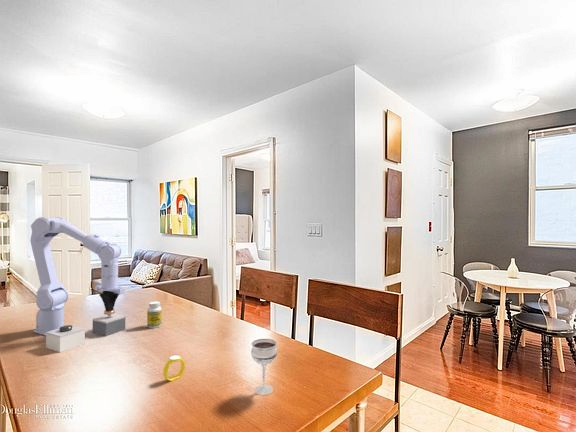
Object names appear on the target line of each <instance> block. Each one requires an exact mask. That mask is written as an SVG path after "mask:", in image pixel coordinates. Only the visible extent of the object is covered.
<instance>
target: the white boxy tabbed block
mask: <svg viewBox="0 0 576 432" xmlns="http://www.w3.org/2000/svg"><path fill="white" fill-rule="evenodd" d="M124 330H126V315H122V314H117V313H113V314H111V318H108V315H105V314H103V315H102V316H98V317H94V318H92V334H96V335H101V336H103V337H108V336H110V335H113V334H116V333H119V332H121V331H124Z"/></svg>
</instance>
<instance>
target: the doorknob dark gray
mask: <svg viewBox="0 0 576 432" xmlns="http://www.w3.org/2000/svg"><path fill="white" fill-rule="evenodd" d="M72 325H73V324H67V325H64V326H62V327H60V328H59V331H60V332H65V331H70V330H72Z"/></svg>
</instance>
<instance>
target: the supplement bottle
mask: <svg viewBox="0 0 576 432" xmlns="http://www.w3.org/2000/svg"><path fill="white" fill-rule="evenodd" d="M160 305H161V303H160V301H150V302H149V303H148V306H149V307H148V308H147V315H146V316H147V320H146V323H147V328H149V329H156V328H159V327H161V326H162V321H163V320H162V318H163V317H162V312H163V311H162V307H161V306H160Z"/></svg>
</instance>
